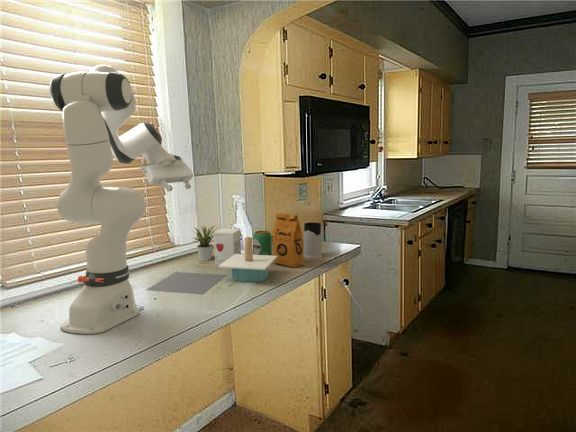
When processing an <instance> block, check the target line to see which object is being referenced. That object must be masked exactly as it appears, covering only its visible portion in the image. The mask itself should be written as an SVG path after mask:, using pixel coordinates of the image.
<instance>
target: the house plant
mask: <svg viewBox="0 0 576 432" xmlns="http://www.w3.org/2000/svg"><path fill="white" fill-rule="evenodd" d="M215 226H217V224H215V225H213V226H211V227H209V228H208V229H207V227H206V226H205V225H203V227H201V230H202V232H203V234H202V233H201V231H200V230H199V229H198V228H197V227H193V228H194V230H195V231H196V232H195V231H193V230H192V232H194V233H195V234H196V237H193V239H194V240H193V241H191V242H192V243H193V242H194V243H197V244H198V245H196V248H197V250H196V251H197V253H198V259H199V260H200V261H203V262H204V261H210V260H212V255H213V247H214V246H213V244H212V243H211V242H213V239H214V232H215V231H217V230H219V227H217V228H215ZM214 228H215V229H214ZM212 230H213V231H212ZM210 243H211V244H210Z"/></svg>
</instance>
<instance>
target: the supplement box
mask: <svg viewBox="0 0 576 432" xmlns="http://www.w3.org/2000/svg"><path fill="white" fill-rule="evenodd" d="M213 235H214V237H213V242H214V264H215V266H219V265H220V264H222V263H223V262H224V261H226V260H227V259H229V258H230V257H231V256H233V255H234V254H242V249H241V247H242V244H241V240H242V239H241V228H228V227H227V228H226V227H225V228H224V227H223V228H222V227H220V228H218V229H216V230H215V231H214V232H213Z"/></svg>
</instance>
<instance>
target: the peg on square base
mask: <svg viewBox="0 0 576 432" xmlns="http://www.w3.org/2000/svg"><path fill="white" fill-rule="evenodd" d="M243 243H244V253H241V254H234V255H233V256H231V257H230V258H229V259H227V260H226V261H224V262H223V263H222V264H220V265H217V267H218V269H219V268H221V269H222V268H224V269H231V268H236V269H254V270H265V269H266V268H267V267H268V268H269V267H270V266H271V264H272V263H274V260H275V259H276V258H277V256H274V255H272V256H271V255H254V248H253V236H252V237H250V236H246V237H244V242H243Z"/></svg>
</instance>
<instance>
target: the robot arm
mask: <svg viewBox="0 0 576 432" xmlns="http://www.w3.org/2000/svg"><path fill="white" fill-rule="evenodd" d="M49 95H50V97H51V101H52V102H53V104H54V105H55V107H57V108H58V109H59V110H60V111H61V112H62V125H63V133H64V139H65V143H66V149H67V153H68V158H69V163H70V170H71V171H70V173H71V175H70V180H69V183H68V185H67V186H66V188H65V189H64V190H62V192H61V193H60V194H59V195H58V198H57V204H56V205H57V207H56V208H57V211H58V214H59V216H60V217H61V218H62V219H63V220H64V221H66V222H67V221H68V222H73V223H77V224H80V225H81V224H84V225H85V224H91V225H92V224H93V225H94V224H95V225H97V224H98V225H101V226H100V233H99V234H98V235H96V236H94V237H93V238H91V239H90V240H89V241H88V242H87V244H86V247H85V257H86V266H87V270H86V272H85V275H78V277H77V282H78V283H83V284H84V286H83V287H82V288H81V290H80V291H79V293H78V294H77V296H76V297H75V299H73V301H72V303H71V304H70V306H69V309H68V311H69V312H68V315H69V316H68V318H67V320H65V321H64V322H63V323H61V324H60V325H59V326H60V330H61V331H63V332H67V333H72V334H81V335H90V334H91V335H93V334H100V333H104V332H106V331H108V330H110V329H113V328H114V327H116V326H118V325H120V324H122V323H124V322H126V321H128V320H130V319H132V318H134V317H136V316H138V315H139V314H140V310H139V308H137V306H136V301H135V300H136V299H135V295H134V289H133V286H132V284H131V283H130V280H129V278H130V269H129V265H128V263H127V240H128V236H129V233H130V232H131V230H132V228H133V226H135V224H136V223H138V222H139V221H140V220H141V219H142V218H143V216H144V215H145V212H146V209H147V205H146V204H147V203H146V199H145V197H144V195H143V193H142V192H141V191H140V190H139V189H135V188H130V187H126V186H125V187H124V186H103V185H101V177H103V176H105V175H106V174H108V173H109V172H110V171H111V170H112V168H113V166H114V159H115V160H116V161H117V162H118V163H121V164H127V165H128V164H131V163H132V162H133V161H134V160H136V159H137V158H138V157H140V156H141V157H142V158H144V159H145V160H146V163H143V164H142V165H141V167H140V168H141V170H142V172H144V176H145V178H146V180H147V181H148V183H149V184H150V185H152V186H155V185H159V186H160V187H163V188H164V189H165V190H166V191H167V192H172V191H173V188H174V187H173V186H172V185H171V184H173V183H183V184H185V185H184V188H186V189H185V190H190V189H191V188H192V185H191V184H190V181H191V180H192V179H193V177H194V173H193V171H192V170H191V168H190V166H189V165H187V163H186V162H184V159H183V158H182V156H179V155H175V154H173V153H169V152H168V151H167V150H166V149H164V147H163V145H162V143H163V137H162V135H161V134H159V133H160V132H158V131H157V129H156V128H155V126H154V125H153V124H151V123H149V122H141V123H139V124H138V125H136V126H135V127H133V128H131V129H130V130H128V131H127V132H125V133H123V134H122V135H119V134H118V130H119V129H120V128H121V127H122V125H124V123H125V122H127V120H129V119H130V118H131V116H132V115H133V114H134V112H135V110H136V106H137V101H136V97H135V94H134V91H133V90H132V86H131V82H130V80H129V79H128V78H127V77H126V76H125V75H123V74H122V73H120V72H118V71H117V70H116V69H115V68H114V67H112V66H111V65H107V64H99V65H95V66H93V68H91V69H90V70H88V71H87V70H86V71H78V72H70V73H67V72H65V73H64V72H63V73H60V74H56V75H54V76H53V77H52V78H51V81H50V83H49Z"/></svg>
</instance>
